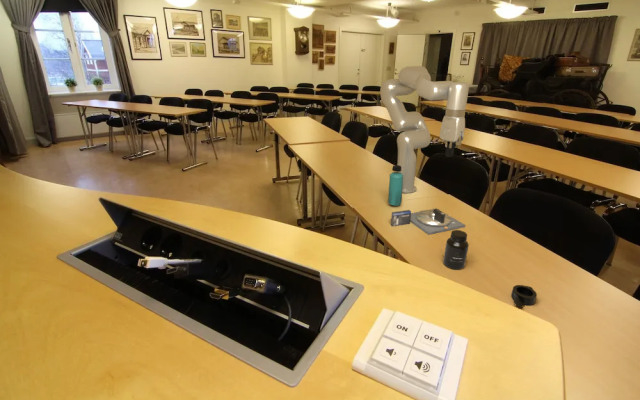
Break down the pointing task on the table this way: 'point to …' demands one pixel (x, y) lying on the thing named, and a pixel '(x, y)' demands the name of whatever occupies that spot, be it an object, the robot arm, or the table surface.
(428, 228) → the dial plate
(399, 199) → the beverage bottle
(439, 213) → the dial
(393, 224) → the mini dv tape
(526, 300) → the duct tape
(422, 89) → the robot arm
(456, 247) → the supplement bottle
